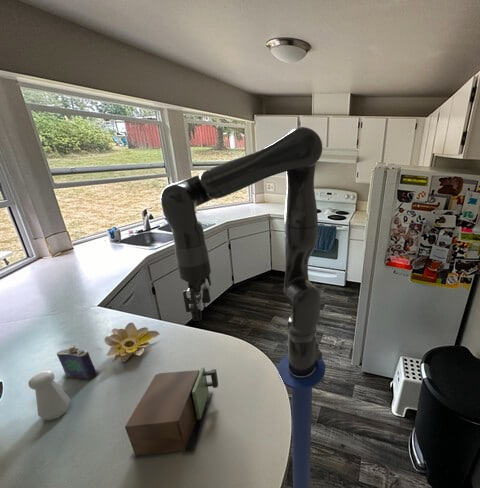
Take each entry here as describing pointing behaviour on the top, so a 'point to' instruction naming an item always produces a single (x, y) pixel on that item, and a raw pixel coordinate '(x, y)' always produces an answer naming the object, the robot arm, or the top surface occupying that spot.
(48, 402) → the salt shaker
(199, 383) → the sliding door
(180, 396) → the cabinet
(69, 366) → the flask
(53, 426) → the top surface
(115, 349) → the decorative flower
